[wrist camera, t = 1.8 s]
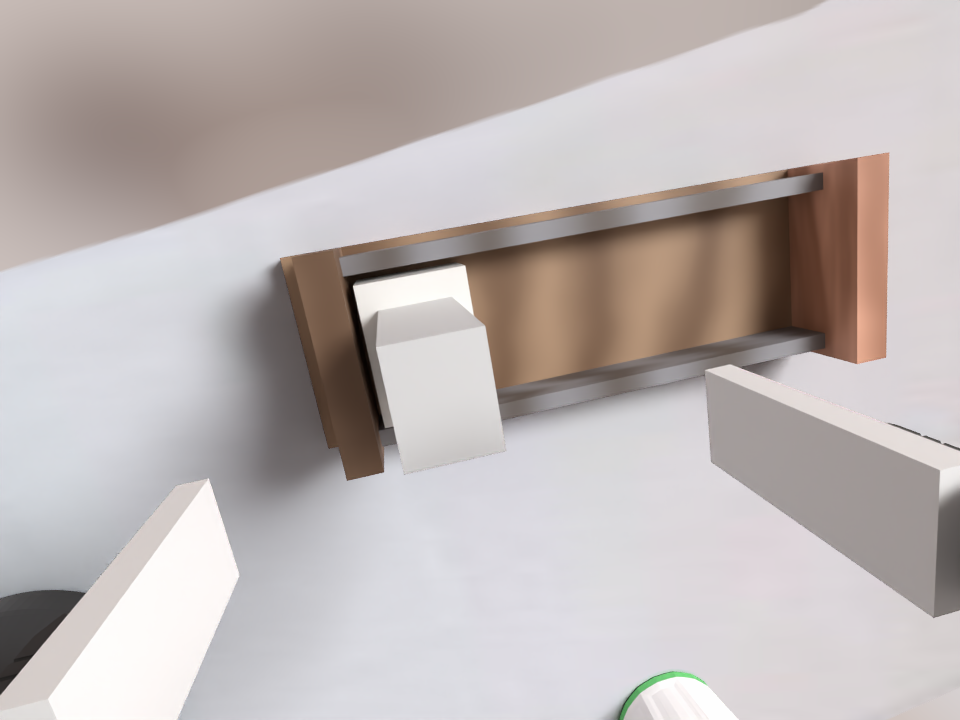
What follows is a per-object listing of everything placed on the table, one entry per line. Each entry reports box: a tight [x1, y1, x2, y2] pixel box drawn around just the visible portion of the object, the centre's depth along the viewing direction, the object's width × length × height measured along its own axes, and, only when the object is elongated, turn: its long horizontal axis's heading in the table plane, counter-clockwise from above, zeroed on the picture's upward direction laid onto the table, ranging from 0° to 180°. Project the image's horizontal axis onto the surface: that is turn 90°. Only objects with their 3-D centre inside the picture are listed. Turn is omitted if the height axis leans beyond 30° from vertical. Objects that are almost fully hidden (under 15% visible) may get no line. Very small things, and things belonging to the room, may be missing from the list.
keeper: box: [353, 262, 506, 475], centre depth 27 cm, size 6×8×14 cm
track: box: [280, 153, 889, 481], centre depth 34 cm, size 36×12×7 cm, turn 100°
